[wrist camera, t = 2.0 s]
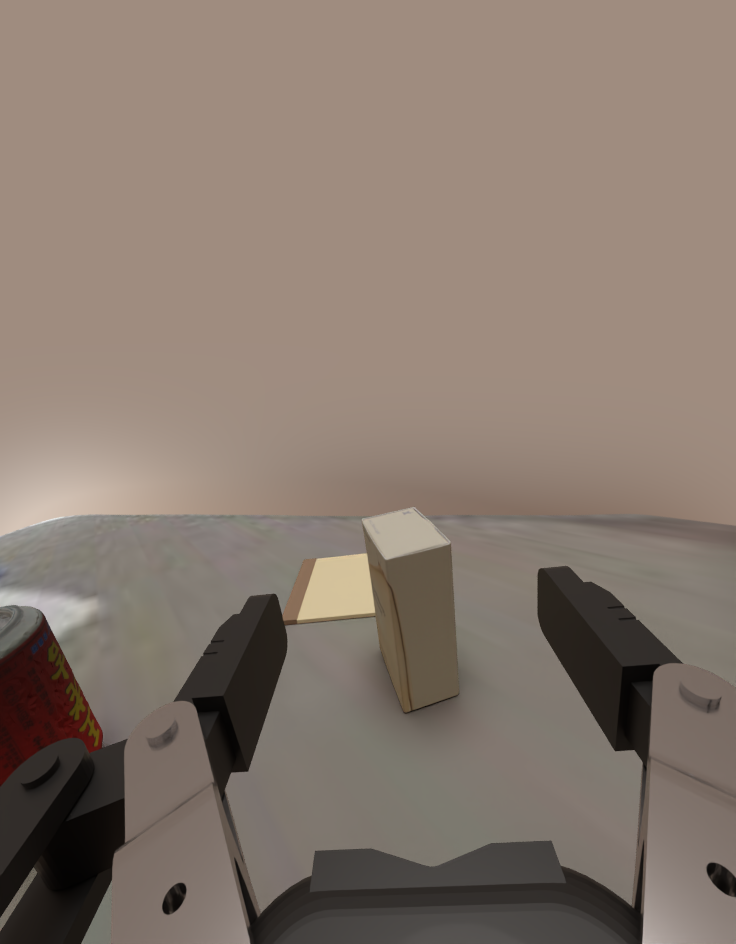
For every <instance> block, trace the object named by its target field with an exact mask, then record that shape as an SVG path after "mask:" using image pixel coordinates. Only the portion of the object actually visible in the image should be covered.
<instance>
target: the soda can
mask: <svg viewBox="0 0 736 944" xmlns="http://www.w3.org/2000/svg"><path fill="white" fill-rule="evenodd" d="M67 738H79V739H81V740H82V741H83V742H84V744H85V746H86V748H87V750H88V752H89V753H91V752H93V751H96V750H99V749H102V739H103V733H102V730H101V727H100V726H99V724H98V722H97V720H96V719H95V717H94V715H93V713H92V711H91V709H90V707H89V704H88V702H87V701H86V699H85V697H84V695H83V692H82V690H81V688H80V686H79V684H78V683H77V681H76V679H75V677H74V674H73V672H72V670H71V668H70V666H69V664H68V662H67V660H66V658H65V656H64V654H63V652H62V650H61V648H60V646H59V644H58V642H57V640H56V638H55V636H54V634H53V632H52V630H51V628H50V626H49V624H48V622H47V620H46V618H45V616H44V614H43V613H42V612H41V611H40V610H38V609H36V608H33V607H28V606H17V605H11V606H5V607H0V787H1V785H2V784H3V783H4V782H5V781H6V780H7V778H8V777H9V776H10V775H11V774H12V773H13V772H14V771H15V770H16V769H17V768H18V767H19V766H20V765H21V764H22V763H24V762H25V761H26V760H27V759H28V758H30V757H31V756H33V755H34V754H35V753H37V752H38V751H40V750H42V749H43V748H45V747H47V746H49V745H50V744H53V743H55V742H57V741H60V740H63V739H67Z"/></svg>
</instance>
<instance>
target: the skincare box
mask: <svg viewBox="0 0 736 944" xmlns="http://www.w3.org/2000/svg"><path fill="white" fill-rule="evenodd" d="M362 525H363V531H364V537H365V544H366V551H367V557H368V565H369V571H370V578H371V585H372V593H373V600H374V607H375V615H376V622H377V629H378V637H379V644H380V649H381V652H382V655H383V658H384V661H385V664H386V666H387V669H388V672H389V675H390V677H391V680H392V683H393V685H394V688H395V691H396V693H397V696H398V698H399V701H400V704H401V706H402V709H403V711H404V712H409V711H412V710H415V709H418V708H421V707H424V706H427V705H430V704H433V703H436V702H438V701H441V700H444V699H447V698H450V697H453V696H456V695H458V694H459V681H458V663H457V645H456V627H455V609H454V591H453V573H452V555H451V542H450V541H449V540H448V539H447V538H446V537H445V536H444V535H443V534H442V533H441V532H440V531H439V530H438V529H437V528H436V527H435V526H434V525H433V524H432V523H431V522H430V521H429V520H428V519H427V518H426V517H425V516H423V515H422V514H421V513H420V512H419V511H418V510H417V509H416V508H415V507H412V508H408V509H403V510H399V511H395V512H390V513H386V514H381V515H377V516H373V517H368V518H364V519H362Z"/></svg>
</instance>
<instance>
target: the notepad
mask: <svg viewBox="0 0 736 944" xmlns="http://www.w3.org/2000/svg"><path fill="white" fill-rule="evenodd" d="M372 616H376V615H375V607H374V600H373V593H372V585H371V578H370V571H369V565H368V557H367V553H366V554H357V555H348V556H339V557H330V558H321V559H316V558H315V559H306V560H304V561H303V564H302V566H301V569H300V571H299V574H298V577H297V579H296V582H295V584H294V587H293V590H292V592H291V595H290V597H289V600H288V602H287V605H286V608H285V610H284V613H283V615H282V617H283V621H284V625H289V624H300V623H310V622H320V621H330V620H341V619H351V618H361V617H372Z"/></svg>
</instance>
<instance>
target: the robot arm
mask: <svg viewBox="0 0 736 944" xmlns="http://www.w3.org/2000/svg"><path fill="white" fill-rule="evenodd" d="M538 619H539V623H540V627H541V629H542V632H543V634H544V636H545V637H546V639H547V641H548V642H549V644H550V646H551V647H552V649H553V650H554V652H555V654H556V655H557V657H558V659H559V660H560V662H561V664H562V665H563V667H564V668H565V670H566V672H567V673H568V675H569V677H570V678H571V680H572V682H573V683H574V685H575V686H576V688H577V690H578V691H579V693H580V695H581V696H582V698H583V700H584V701H585V703H586V705H587V706H588V708H589V709H590V711H591V713H592V714H593V716H594V718H595V719H596V721H597V723H598V724H599V726H600V727H601V729H602V731H603V732H604V734H605V736H606V737H607V739H608V741H609V742H610V744H611V745H612V747H613V749H614V750H615V751H625V750H635V751H636V753H637V754H638V756H639V757H640V759H641V760H642V762H643V765H642V774H641V789H640V804H639V818H638V833H637V848H636V862H635V874H634V884H633V895H632V906H631V905H629V904H628V903H627V902H626V901H625V900H623V899H622V898H621V897H619V896H618V895H616V894H615V893H614V892H612V891H611V890H609V889H608V888H607V887H605V886H603V885H602V884H600V883H598V882H596V881H595V880H593V879H591V878H589V877H588V876H586V875H583V874H581V873H579V872H577V871H574V870H572V869H570V868H566V867H563V866H560V863H559V861H558V858H557V855H556V852H555V850H554V847H553V844H552V841H533V842H510V843H491V844H488V845H486V846H484V847H481V848H479V849H477V850H474V851H472V852H469V853H467V854H465V855H462V856H460V857H458V858H455V859H453V860H451V861H448V862H446V863H443V864H441V865H439V866H435V867H429V866H425V865H421V864H418V863H415V862H412V861H409V860H406V859H402V858H399V857H396V856H393V855H390V854H387V853H384V852H380V851H377V850H374V849H349V850H326V851H315V855H314V862H313V870H312V876H309V877H307V878H305V879H303V880H301V881H300V882H298V883H296V884H295V885H293V886H291V887H290V888H289V889H287V890H286V891H285V892H283V893H282V894H281V895H280V896H278V897H277V898H276V899H275V900H274V901H273V902H272V903H271V904H270V905H269V906H268V907H267V908H266V909H265V910H264V911H263V912H262V913H261V912H260V909H259V906H258V903H257V899H256V896H255V893H254V890H253V887H252V884H251V880H250V877H249V873H248V870H247V866H246V863H245V859H244V855H243V852H242V848H241V844H240V841H239V837H238V833H237V830H236V826H235V822H234V819H233V815H232V811H231V808H230V804H229V800H228V797H227V794H226V791H225V787H226V785H227V782H228V779H229V777H230V774H231V772H248V770H249V767H250V764H251V761H252V758H253V755H254V752H255V749H256V746H257V743H258V739H259V736H260V733H261V730H262V727H263V724H264V721H265V718H266V715H267V712H268V709H269V706H270V703H271V700H272V697H273V694H274V691H275V687H276V684H277V681H278V678H279V675H280V672H281V669H282V666H283V663H284V660H285V657H286V653H287V633H286V629H285V625H284V621H283V617H282V613H281V609H280V605H279V600H278V597H277V596H276V594H266V595H256V596H250V597H249V598H248V600H247V602H246V604H245V605H244V607H243V609H242V611H241V612H240V614H234V615H232V616H231V617H230V618H229V619H228V620H227V621H226V622H225V623H224V624H222V625H221V626H220V627H219V629H218V630H217V632H216V634H215V635H214V637H213V639H212V640H211V644H209V645H208V647H207V648H206V650H205V652H204V653H203V654H204V655H203V656H201V658H200V660H199V661H198V663H197V664H196V666H195V668H194V669H193V671H192V673H191V674H190V676H189V677H188V679H187V681H186V682H185V684H184V686H183V687H182V689H181V690H180V692H179V694H178V695H177V697H176V698H175V700H174V702H172V703H169V704H166V705H164V706H162V707H160V708H158V709H156V710H155V711H153V712H152V713H151V714H149V715H148V716H147V717H146V718H144V719H143V720H142V721H141V722H140V723H139V724H138V725H137V726H136V728H135V729H134V730H133V732H132V733H131V735H130V736H129V738H128V739H126V740H123V741H121V742H118V743H115V744H112V745H110V746H107V747H104V748H102V749H99V750H96V751H93V752H91V753H89V752H88V750H87V748H86V746H85V744H84V742H83V741H82V740H81V739H79V738H67V739H63V740H60V741H57V742H55V743H53V744H50V745H49V746H47V747H45V748H43V749H42V750H40V751H38V752H37V753H35V754H34V755H33V756H31V757H30V758H28V759H27V760H26V761H25V762H24V763H22V764H21V765H20V766H19V767H18V768H17V769H16V770H15V771H14V772H13V773H12V774H11V775H10V776H9V777H8V778H7V780H6V781H5V782H4V783H3V784H2V785H1V787H0V917H1V916H2V914H3V913H4V911H5V910H6V908H7V907H8V905H9V904H10V902H11V900H12V899H13V897H14V896H15V894H16V893H17V891H18V890H19V888H20V887H21V885H22V884H23V882H24V881H25V879H26V878H27V876H28V874H29V873H30V871H31V870H32V868H33V867H34V868H35V869H36V871H37V875H36V876H35V878H34V880H33V881H32V883H31V884H30V886H29V887H28V889H27V891H26V892H25V894H24V895H23V897H22V898H21V900H20V902H19V903H18V905H17V906H16V908H15V909H14V911H13V913H12V914H11V916H10V917H9V919H8V920H7V922H6V924H5V925H4V927H3V928H2V930H1V931H0V944H81V943H82V941H83V938H84V936H85V934H86V932H87V930H88V928H89V926H90V924H91V922H92V920H93V918H94V916H95V914H96V912H97V910H98V907H99V905H100V903H101V901H102V899H103V897H104V895H105V893H106V891H107V889H108V887H109V885H110V883H111V881H112V923H111V944H736V688H735V687H734V686H733V685H731V684H730V683H729V682H727V681H725V680H724V679H722V678H721V677H719V676H717V675H715V674H713V673H711V672H709V671H706V670H704V669H701V668H698V667H695V666H691V665H687V664H683V663H682V662H681V661H680V660H679V659H678V658H677V657H676V656H675V655H674V654H673V653H672V652H671V651H670V650H669V649H668V648H667V647H666V646H665V645H663V644H662V643H661V642H660V641H659V640H658V639H657V638H656V637H655V636H654V635H653V634H652V633H651V632H650V631H649V630H648V629H647V628H646V627H645V626H644V625H643V624H642V623H641V622H640V621H639V620H636V617H635V616H634V615H633V614H632V613H631V612H630V611H629V610H628V609H627V608H626V609H625V608H624V605H623V604H622V603H621V602H620V601H619V600H618V599H617V598H616V597H615V596H613V595H612V594H611V593H610V592H609V591H607V590H605V589H603V588H602V587H600V586H598V585H596V584H594V583H593V582H583V581H582V580H581V579H580V578H579V577H578V576H577V575H576V574H575V573H574V572H573V571H572V569H571V568H569V567H568V566H561V567H551V568H541V569H539V571H538Z"/></svg>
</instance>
